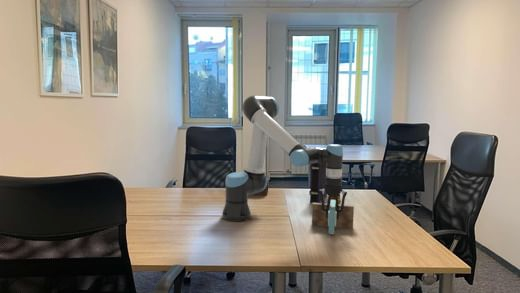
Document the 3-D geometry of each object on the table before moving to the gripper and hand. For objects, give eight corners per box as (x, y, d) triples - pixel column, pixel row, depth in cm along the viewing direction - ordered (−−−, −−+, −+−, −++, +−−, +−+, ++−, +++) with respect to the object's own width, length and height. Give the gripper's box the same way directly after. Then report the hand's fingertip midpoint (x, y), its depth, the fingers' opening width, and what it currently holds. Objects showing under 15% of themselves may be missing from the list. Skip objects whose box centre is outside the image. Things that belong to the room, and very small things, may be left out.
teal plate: (330, 220, 194) (330, 199, 193) (334, 221, 194) (335, 199, 192) (328, 233, 175) (329, 210, 173) (333, 234, 174) (334, 210, 173)
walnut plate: (311, 225, 191) (312, 203, 190) (312, 223, 193) (312, 202, 192) (352, 228, 187) (353, 206, 186) (352, 227, 189) (353, 205, 188)
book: (318, 194, 258) (320, 150, 254) (327, 195, 255) (329, 150, 252) (309, 202, 236) (310, 154, 233) (319, 203, 234) (320, 155, 230)
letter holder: (267, 195, 253) (267, 174, 251) (237, 194, 255) (237, 173, 253) (268, 192, 263) (268, 172, 261) (239, 191, 264) (239, 171, 263)
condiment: (343, 215, 209) (344, 194, 208) (332, 218, 204) (333, 196, 203) (334, 212, 215) (334, 191, 214) (322, 214, 210) (323, 193, 209)
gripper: (316, 177, 179) (315, 226, 182) (350, 179, 176) (348, 228, 179) (317, 174, 187) (316, 221, 189) (350, 176, 183) (348, 224, 186)
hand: (331, 225), depth 184 cm, fingers closed on teal plate, 2 cm apart
